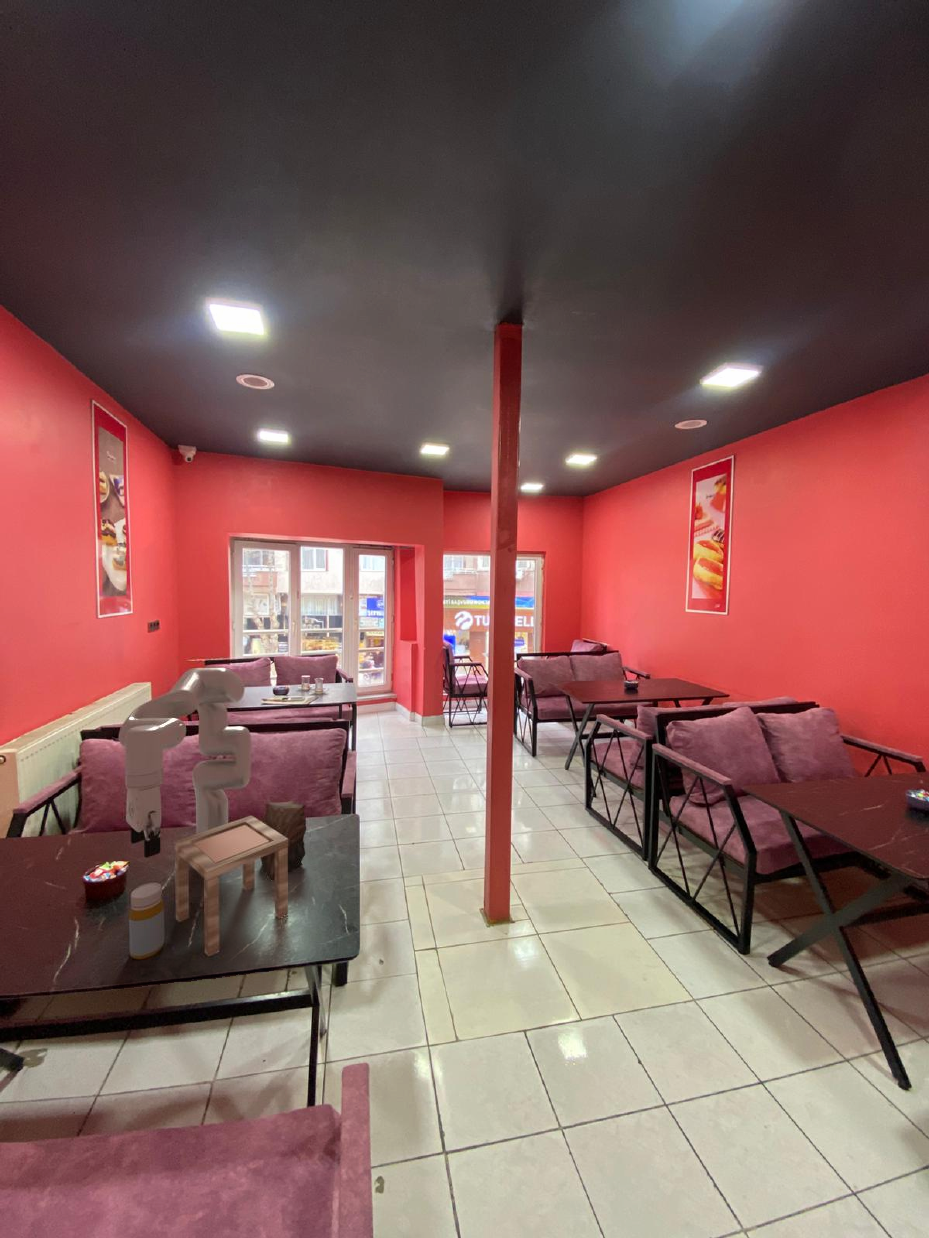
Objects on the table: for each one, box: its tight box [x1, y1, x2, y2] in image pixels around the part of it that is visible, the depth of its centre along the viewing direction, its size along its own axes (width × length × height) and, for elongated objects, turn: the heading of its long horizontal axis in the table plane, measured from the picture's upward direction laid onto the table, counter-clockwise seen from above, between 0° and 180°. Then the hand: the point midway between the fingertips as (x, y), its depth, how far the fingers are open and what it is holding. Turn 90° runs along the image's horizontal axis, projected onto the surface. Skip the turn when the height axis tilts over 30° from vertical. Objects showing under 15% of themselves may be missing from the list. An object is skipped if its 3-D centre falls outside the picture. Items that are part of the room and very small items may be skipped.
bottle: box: [128, 882, 165, 960], centre depth 116 cm, size 7×7×15 cm
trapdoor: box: [193, 825, 269, 863], centre depth 128 cm, size 14×14×1 cm
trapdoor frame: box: [173, 815, 289, 957], centre depth 128 cm, size 21×21×21 cm
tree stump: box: [260, 800, 307, 882], centre depth 153 cm, size 13×13×20 cm
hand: (145, 847), depth 115 cm, fingers open, 9 cm apart
